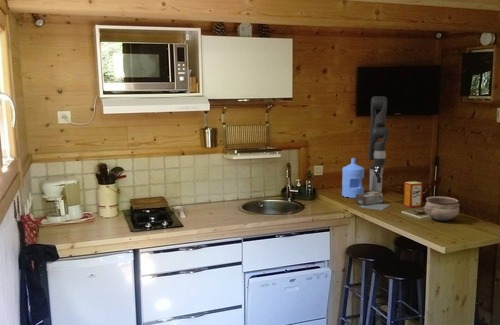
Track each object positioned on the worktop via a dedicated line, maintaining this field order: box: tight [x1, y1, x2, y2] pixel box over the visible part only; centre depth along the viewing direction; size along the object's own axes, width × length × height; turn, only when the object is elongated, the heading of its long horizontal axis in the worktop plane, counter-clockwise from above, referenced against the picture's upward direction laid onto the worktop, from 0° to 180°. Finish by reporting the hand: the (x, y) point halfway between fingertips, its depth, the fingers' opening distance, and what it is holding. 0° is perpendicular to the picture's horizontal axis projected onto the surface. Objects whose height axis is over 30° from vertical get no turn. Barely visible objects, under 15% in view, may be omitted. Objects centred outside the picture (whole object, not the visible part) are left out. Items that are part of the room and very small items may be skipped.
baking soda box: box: [403, 181, 424, 209], centre depth 310 cm, size 10×6×16 cm
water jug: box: [341, 157, 365, 199], centre depth 340 cm, size 16×16×28 cm
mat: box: [358, 203, 391, 211], centre depth 311 cm, size 16×16×1 cm
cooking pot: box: [423, 196, 461, 222], centre depth 276 cm, size 25×19×12 cm
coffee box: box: [355, 191, 384, 206], centre depth 319 cm, size 9×6×16 cm
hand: (379, 182), depth 316 cm, fingers closed
